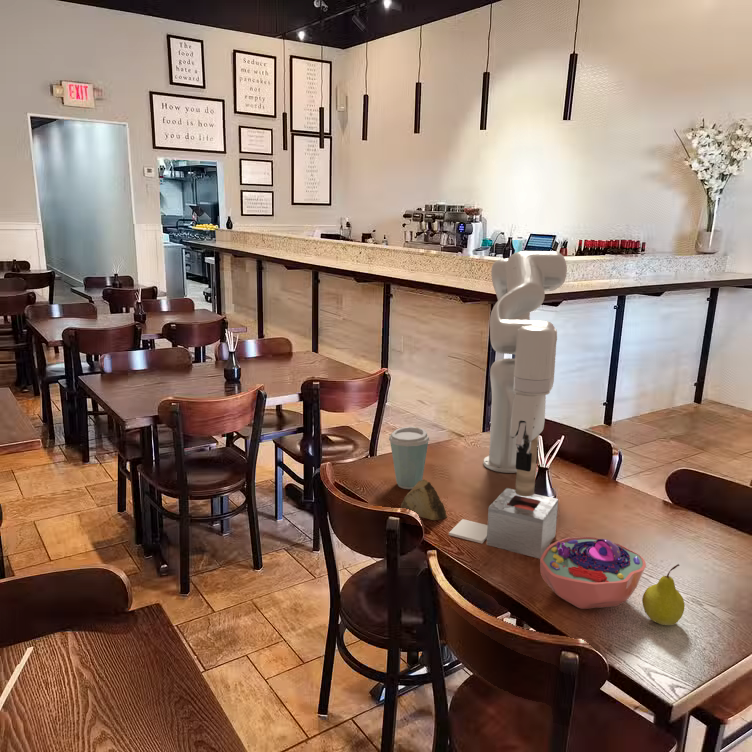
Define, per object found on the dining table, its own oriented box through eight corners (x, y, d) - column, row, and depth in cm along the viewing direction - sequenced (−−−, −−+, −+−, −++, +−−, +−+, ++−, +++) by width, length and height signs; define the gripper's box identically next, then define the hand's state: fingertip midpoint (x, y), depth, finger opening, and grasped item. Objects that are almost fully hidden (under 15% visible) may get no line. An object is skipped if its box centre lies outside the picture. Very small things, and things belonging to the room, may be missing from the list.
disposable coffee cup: (413, 496, 170) (414, 441, 166) (380, 485, 176) (380, 432, 173) (435, 483, 178) (437, 430, 175) (402, 474, 184) (403, 422, 181)
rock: (388, 502, 161) (410, 513, 152) (404, 471, 162) (427, 480, 154) (418, 520, 166) (442, 531, 157) (434, 490, 167) (458, 499, 159)
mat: (462, 521, 156) (462, 519, 156) (494, 529, 152) (494, 526, 152) (448, 535, 149) (448, 532, 149) (482, 543, 146) (482, 541, 145)
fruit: (633, 621, 118) (640, 560, 115) (650, 605, 123) (657, 547, 120) (672, 638, 113) (680, 575, 111) (688, 621, 118) (696, 561, 115)
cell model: (518, 585, 129) (521, 532, 127) (601, 567, 136) (606, 517, 134) (571, 635, 114) (577, 576, 111) (662, 612, 121) (669, 556, 118)
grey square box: (504, 523, 155) (506, 487, 153) (555, 535, 150) (558, 498, 147) (486, 544, 145) (488, 507, 143) (540, 558, 139) (543, 519, 137)
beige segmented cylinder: (518, 487, 147) (523, 419, 143) (536, 491, 145) (541, 422, 141) (512, 494, 144) (517, 423, 140) (530, 497, 142) (535, 426, 138)
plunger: (515, 515, 149) (516, 502, 149) (536, 520, 147) (537, 507, 146) (508, 524, 145) (509, 510, 145) (530, 529, 143) (530, 515, 142)
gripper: (526, 374, 148) (521, 452, 152) (501, 390, 133) (496, 475, 138) (559, 379, 144) (553, 458, 148) (538, 395, 130) (532, 482, 134)
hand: (526, 465), depth 143 cm, fingers closed on beige segmented cylinder, 4 cm apart
